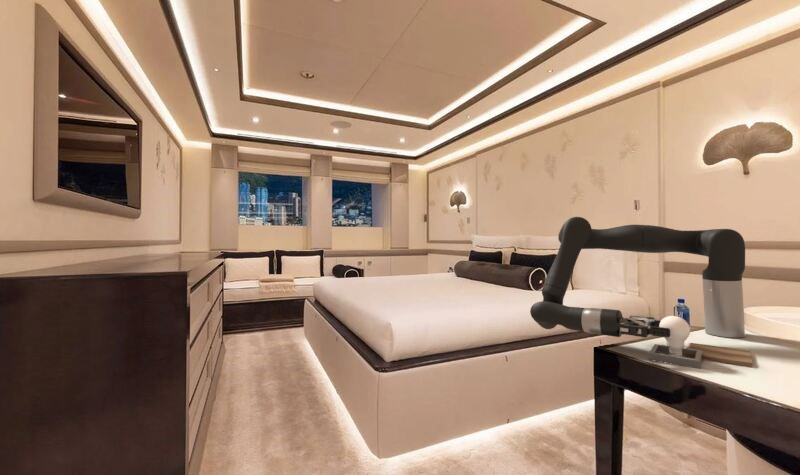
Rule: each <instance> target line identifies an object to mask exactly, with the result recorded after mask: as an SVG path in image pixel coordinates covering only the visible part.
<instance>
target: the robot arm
mask: <svg viewBox="0 0 800 475" xmlns="http://www.w3.org/2000/svg"><path fill="white" fill-rule="evenodd" d="M557 237H558V241H559V243H560V244H559V245H560V246H559V248H558V250H557V254H556V256H555V257H554V260H553V262H552V265H551V267H550V269H549V271H548V273H547V275H546V278H545V280H544V283H543V286H542V288H541V295H542V298H543V299H542V301H538V302H535V303H534V304H532V305H531V307H530V310H529V313H530V316H531V318H532V319H533V320H534V321H535V322H536V323H537V325H539V326H540V327H541V328H543V329H545V330H551V329H554V328H555V327H557V326H558V325H559V326H561V327H564V328H565V329H568V330H570V331H578V332H584V333H589V334H593V335H602V336H609V337H613V338H614V337H616V338H620V337H622V335H626V336H633V337H638V338H639V337H640V338H648V337H652V336H653V337H655V336H656V337H661V338H664V337H670V329H669V328H662V327H659V324H660V321H661V319H660V320H659V319H658V320H657V318H655V317H648V316H638V315H629V316H628V317H626V318H625V317H623V312H621V310H619V309H612V308H599V307H579V306H578V307H577V306H567V305H564V299H565V295H566V292H567V290H568V288H569V284H570V282H571V279H572V274H573V273H574V272H573V271H574V268H575V265H576V262H577V260H578V257H579V255H580V252H581V251H582V250H592V249H593V250H595V249H596V250H597V249H598V250H600V249H601V250H609V251H611V250H613V251H624V252H632V253H634V252H635V253H646V254H663V253H664V254H665V253H666V254H667V253H686V254H690V255H691V254H692V255H696V256H702V257H703V256H704V257H707V258H708V261H707V262H708V264H707V267H706V268H705V269H702V273H701V274H702V294H703V295H702V296H703V298H702V299H703V312H704V313H703V315H704V316H703V317H704V332H705V333H706V334H708V335H712V336H717V337H723V338H734V339H735V338H745V337H746V332H745V331H746V330H745V310H744V308H745V307H744V294H743V292H744V290H743V275H744V274H743V273H744V272H745V269H746V243H745V240H744V238H743V235H742V234H741V233H740V232H738V231H737V230H734V229H732V228H731V229H730V228H713V229H703V230H702V229H700V230H699V229H698V230H680V229H674V228H669V227H664V226H658V225H650V224H626V225H620V226H615V227H609V228H601V229H600V228H599V229H598V228H592V225H591V224H590V222H589V221H588V220H587V219H586V218H585V217H580V216H572V217H570V218H568V219H567V220H565V222H564V223H563V224H562V226H561V228H560V230H559V233H558V236H557ZM744 336H745V337H744Z"/></svg>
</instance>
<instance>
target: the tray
mask: <svg viewBox="0 0 800 475" xmlns="http://www.w3.org/2000/svg"><path fill="white" fill-rule="evenodd" d="M663 353H664V354H663ZM687 353H694V354H696V356H695V358H688V357H687ZM652 360H655V361H654V362H658V361H662V362H661V363H664V362H666V363H665V364H670V363H672V364H671V365H676V364H677V366H681V367H682V366H683V367H688V368H693V369H694V368H695V369H701V368H702V362H703V360H702V350H695V349H688V348H686V347H682V357H678V356H672V355H669V346H668V345H665V344H657V343H654V344H653V346H652V347H651V349H650V350H649V352H648V361H652Z"/></svg>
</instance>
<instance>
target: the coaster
mask: <svg viewBox="0 0 800 475" xmlns="http://www.w3.org/2000/svg"><path fill="white" fill-rule="evenodd" d="M687 349H695V350H702V361H708V362H716V363H723V364H729V365H734V366H735V365H736V366H741V367H747V368H753V360H752V355H751V350H748V349H743V348H733V347H726V346H725V347H724V346H718V345H710V344H704V343H702V344H701V343H696V342H694V343H693V342H690V343H689V344H688V348H687ZM695 356H696V354H694V353H687V356H686V358H691V359H695Z"/></svg>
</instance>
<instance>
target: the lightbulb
mask: <svg viewBox="0 0 800 475" xmlns="http://www.w3.org/2000/svg"><path fill="white" fill-rule="evenodd" d="M659 327H662V328H669V329H670V337H663V338H664V339H665V342H666V343H667V346H669V353H668V355H672V356H678V357H683V356H682V348H684V343H685V342H686V340H687V339H688V337H689V336H690V335H691V326H690V324H689V322H688V321H687V320H685V319H684V318H682V317H680V316H677V315H668V316H667V315H666V316H665V317H662V319H660V324H659Z"/></svg>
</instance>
